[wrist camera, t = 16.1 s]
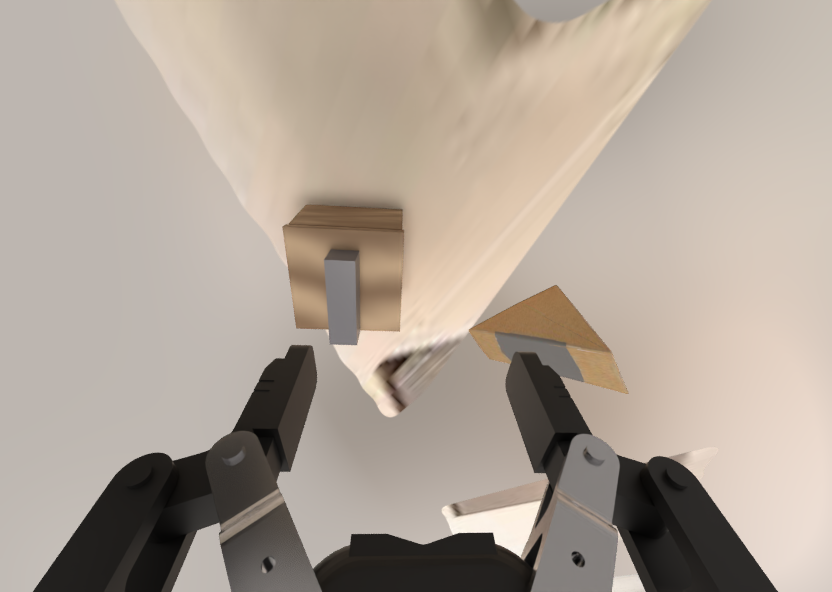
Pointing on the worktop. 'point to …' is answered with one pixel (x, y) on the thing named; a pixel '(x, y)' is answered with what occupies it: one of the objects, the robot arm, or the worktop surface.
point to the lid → (376, 273)
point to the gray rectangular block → (343, 296)
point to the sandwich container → (550, 339)
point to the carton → (349, 217)
